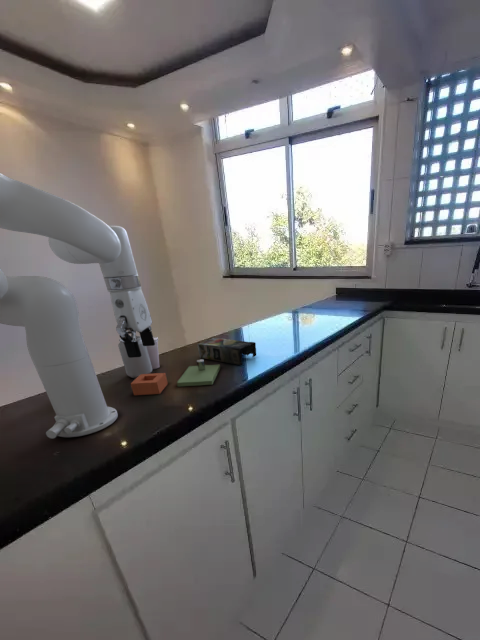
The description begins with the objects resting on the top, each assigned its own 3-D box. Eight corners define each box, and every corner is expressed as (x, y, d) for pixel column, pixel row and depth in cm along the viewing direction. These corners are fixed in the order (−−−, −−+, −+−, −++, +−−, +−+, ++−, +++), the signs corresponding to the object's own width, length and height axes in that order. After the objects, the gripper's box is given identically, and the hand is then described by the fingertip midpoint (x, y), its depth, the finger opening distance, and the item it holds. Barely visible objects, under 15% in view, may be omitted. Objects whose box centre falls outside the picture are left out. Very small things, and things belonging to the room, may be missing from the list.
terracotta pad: (159, 393, 85) (156, 382, 83) (133, 395, 85) (130, 383, 83) (167, 383, 91) (165, 372, 90) (143, 385, 91) (140, 374, 89)
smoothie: (139, 369, 102) (128, 327, 97) (151, 364, 108) (142, 323, 102) (155, 370, 101) (146, 327, 95) (167, 365, 107) (159, 323, 101)
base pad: (212, 384, 89) (210, 371, 88) (177, 386, 89) (174, 373, 87) (220, 367, 102) (218, 355, 100) (189, 369, 102) (187, 357, 100)
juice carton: (196, 358, 112) (193, 341, 109) (215, 351, 119) (213, 335, 117) (240, 366, 103) (238, 348, 100) (258, 358, 111) (256, 341, 108)
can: (157, 370, 102) (148, 334, 96) (145, 379, 95) (134, 341, 90) (136, 370, 103) (126, 334, 97) (122, 379, 96) (110, 341, 91)
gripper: (123, 287, 68) (144, 361, 76) (151, 279, 83) (166, 341, 91) (88, 289, 68) (113, 363, 76) (123, 280, 83) (140, 342, 91)
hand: (142, 350), depth 83 cm, fingers open, 9 cm apart
